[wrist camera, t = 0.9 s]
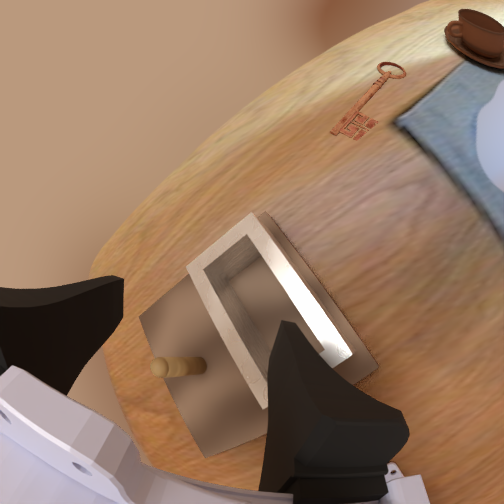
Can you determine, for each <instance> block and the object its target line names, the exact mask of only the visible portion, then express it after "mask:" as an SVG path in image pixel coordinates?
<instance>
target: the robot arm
mask: <svg viewBox="0 0 504 504" xmlns="http://www.w3.org/2000/svg"><path fill="white" fill-rule="evenodd" d="M123 293H124V279H123V278H120V277H117V276H113V275H111V276H104V277H99V278H95V279H90V280H86V281H82V282H77V283H73V284H68V285H62V286H57V287H50V288H41V289H12V288H2V287H0V504H430V502H429V499H428V496H427V493H426V490H425V486H424V484H423V481H422V478H421V475H419V474H418V475H413V476H407V477H404V475H403V474H402V472H401V471H400V469H399V468H398V466H397V465H396V463H394V462H390V463H388V462H389V461H390V460H391V459H392V458H393V457H394V456H395V455H396V454H397V453H398V452H399V451H400V450H401V449H402V447H403V446H404V445H405V443H406V442H407V440H408V437H409V428H408V426H407V424H406V421H405V419H404V417H403V414H402V412H401V411H400V410H397V409H395V408H393V407H391V406H388V405H386V404H384V403H381V402H379V401H377V400H376V399H374V398H372V397H370V396H368V395H367V394H365V393H363V392H362V391H360V390H359V389H357V388H356V387H354V386H353V385H352V384H350V383H349V382H348V381H346V380H345V379H344V378H343V377H341V376H340V375H339V374H338V373H337V372H336V371H335V370H334V369H332V368H331V367H330V366H329V365H328V364H327V363H326V361H325V360H324V359H323V358H322V357H321V356H320V355H319V354H318V352H317V351H316V350H315V349H314V347H313V346H312V345H311V344H310V342H309V341H308V340H307V338H306V337H305V335H304V334H303V333H302V331H301V330H300V328H299V327H298V326H297V324H296V323H294V322H289V321H284V320H281V323H280V326H279V329H278V333H277V336H276V339H275V342H274V345H273V348H272V351H271V354H270V357H269V365H268V374H267V388H268V428H267V437H266V446H265V453H264V461H263V467H262V474H261V480H260V485H259V491H253V490H246V489H239V488H233V487H227V486H222V485H217V484H212V483H207V482H203V481H199V480H195V479H191V478H187V477H183V476H180V475H176V474H173V473H169V472H166V471H163V470H160V469H157V468H154V467H151V466H148V465H146V464H144V463H142V462H141V460H140V454H139V451H138V449H137V447H136V446H135V444H134V442H133V441H132V439H131V437H130V436H129V435H128V434H127V433H126V432H125V431H124V430H123V429H121V428H120V427H119V426H118V425H117V424H116V423H115V422H113V421H111V420H110V419H108V418H106V417H105V416H103V415H101V414H100V413H98V412H97V411H94V410H92V409H91V408H88V407H87V406H85V405H83V404H81V403H79V402H77V401H75V400H73V399H71V398H69V397H68V396H67V394H68V392H69V391H70V389H71V387H72V385H73V384H74V382H75V380H76V378H77V377H78V375H79V374H80V372H81V370H82V369H83V367H84V366H85V365H86V364H87V362H88V361H89V360H90V359H91V357H92V356H93V355H94V354H95V353H96V352H97V351H98V349H99V348H100V347H101V346H102V345H103V344H104V343H105V341H106V340H107V339H108V338H109V337H110V336H111V335H112V333H113V332H114V331H115V329H116V328H117V326H118V325H119V323H120V321H121V320H122V318H123ZM387 463H388V464H387ZM393 470H396V472H395V473H390V472H391V471H393Z"/></svg>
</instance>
